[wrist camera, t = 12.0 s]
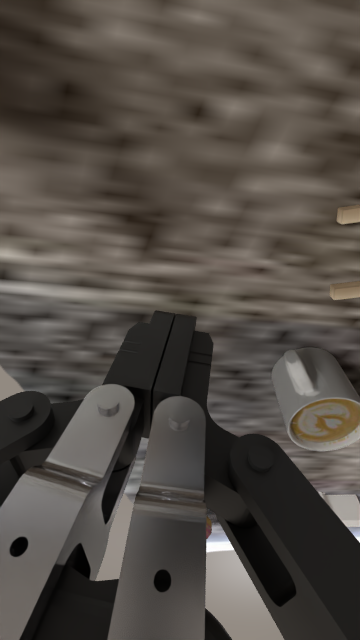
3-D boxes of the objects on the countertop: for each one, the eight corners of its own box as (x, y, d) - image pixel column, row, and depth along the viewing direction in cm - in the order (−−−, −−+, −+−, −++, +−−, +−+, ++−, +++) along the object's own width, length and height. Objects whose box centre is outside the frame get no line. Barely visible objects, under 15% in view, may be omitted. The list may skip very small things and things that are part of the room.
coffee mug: (342, 388, 47) (374, 442, 39) (279, 403, 50) (295, 457, 41) (329, 319, 41) (363, 366, 33) (258, 340, 44) (272, 388, 35)
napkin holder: (371, 492, 62) (386, 523, 57) (329, 516, 67) (340, 545, 62) (316, 465, 58) (327, 495, 53) (277, 492, 64) (283, 522, 59)
